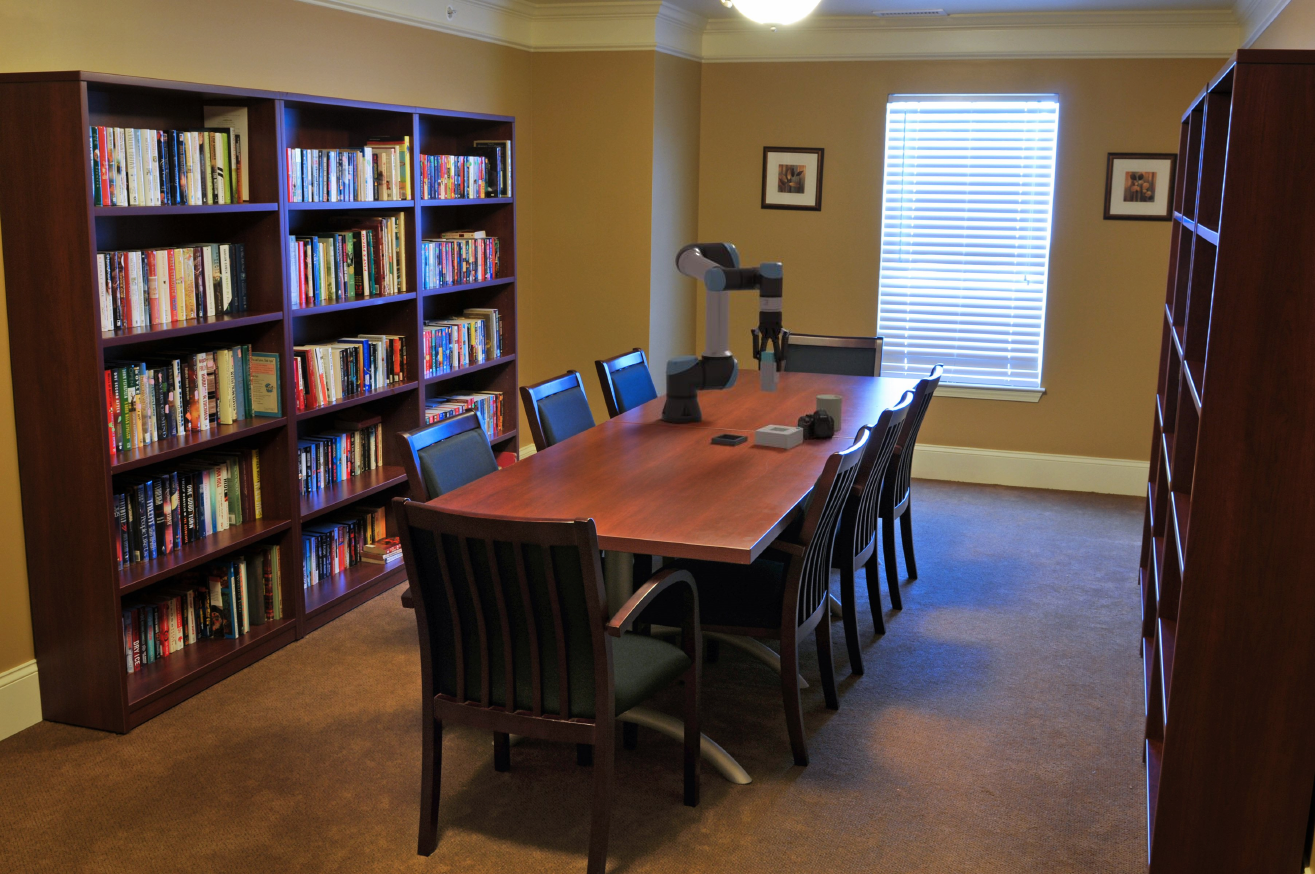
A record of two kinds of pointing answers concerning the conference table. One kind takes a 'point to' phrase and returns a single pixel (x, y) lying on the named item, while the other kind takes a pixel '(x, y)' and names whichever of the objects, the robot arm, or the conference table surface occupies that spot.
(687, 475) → the conference table surface
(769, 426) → the port panel
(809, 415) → the camera
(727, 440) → the dark grey square tray
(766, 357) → the plug
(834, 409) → the can
